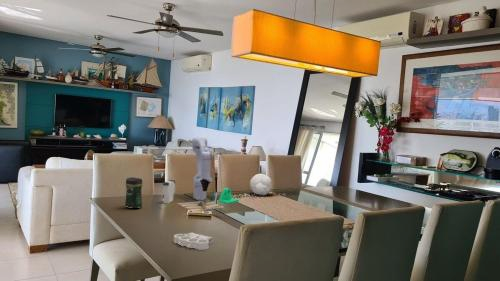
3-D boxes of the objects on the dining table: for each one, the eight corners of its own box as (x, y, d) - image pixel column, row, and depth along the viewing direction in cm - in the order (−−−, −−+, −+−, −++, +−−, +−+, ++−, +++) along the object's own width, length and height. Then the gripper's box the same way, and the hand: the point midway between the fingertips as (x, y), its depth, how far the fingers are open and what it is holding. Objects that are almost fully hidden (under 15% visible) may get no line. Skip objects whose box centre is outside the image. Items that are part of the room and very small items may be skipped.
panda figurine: (164, 201, 255) (164, 179, 255) (180, 203, 253) (181, 180, 252) (156, 205, 244) (156, 181, 243) (173, 207, 241) (173, 183, 240)
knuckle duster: (218, 244, 175) (198, 253, 163) (188, 236, 184) (166, 244, 172) (219, 237, 175) (198, 245, 162) (188, 229, 184) (167, 237, 172)
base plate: (177, 205, 245) (177, 199, 245) (207, 202, 257) (207, 196, 257) (191, 213, 228) (192, 206, 227) (224, 209, 240) (224, 203, 240)
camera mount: (227, 206, 250) (227, 190, 250) (218, 204, 255) (219, 188, 255) (239, 203, 260) (239, 188, 259) (230, 201, 264) (231, 186, 264)
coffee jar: (144, 208, 235) (145, 177, 234) (134, 210, 229) (135, 179, 227) (132, 205, 240) (133, 176, 239) (122, 208, 233) (123, 177, 232)
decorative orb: (259, 191, 305) (260, 171, 304) (278, 194, 295) (279, 174, 294) (244, 194, 289) (244, 173, 288) (263, 198, 279) (264, 176, 278)
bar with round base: (200, 208, 233) (200, 204, 233) (197, 204, 245) (197, 200, 245) (208, 208, 234) (208, 204, 234) (205, 204, 246) (205, 200, 246)
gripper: (194, 168, 251) (194, 189, 252) (205, 171, 239) (204, 193, 240) (204, 168, 255) (203, 188, 256) (215, 171, 243) (214, 192, 244)
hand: (204, 191), depth 248 cm, fingers closed
